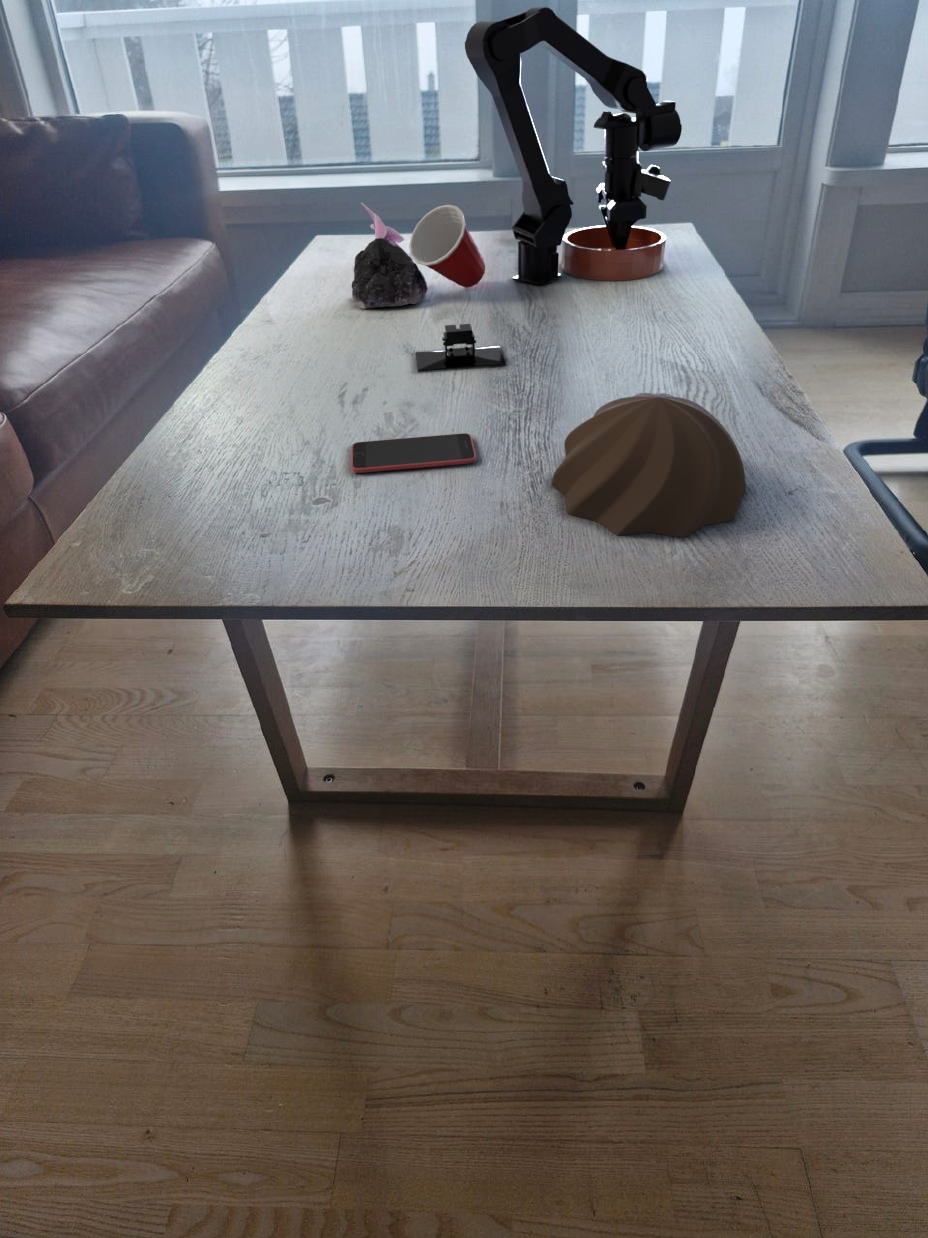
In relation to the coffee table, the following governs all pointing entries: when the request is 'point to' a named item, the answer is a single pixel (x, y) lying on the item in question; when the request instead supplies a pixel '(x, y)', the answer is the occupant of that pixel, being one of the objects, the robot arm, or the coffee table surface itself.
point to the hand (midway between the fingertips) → (618, 252)
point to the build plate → (459, 353)
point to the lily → (384, 229)
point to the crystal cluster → (386, 277)
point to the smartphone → (412, 453)
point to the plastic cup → (447, 246)
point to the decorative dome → (651, 467)
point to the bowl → (612, 254)
